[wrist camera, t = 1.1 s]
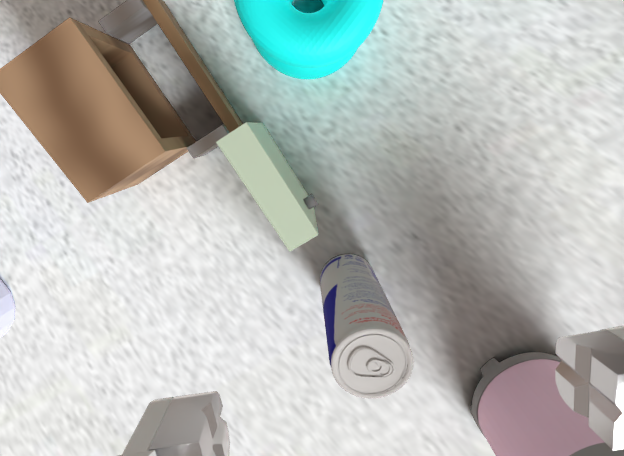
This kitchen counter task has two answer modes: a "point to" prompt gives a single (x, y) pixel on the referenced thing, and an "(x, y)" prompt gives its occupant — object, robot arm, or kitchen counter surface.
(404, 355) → the beverage can
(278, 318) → the kitchen counter surface
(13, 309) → the soap bottle
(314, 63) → the donuts
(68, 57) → the cabinet
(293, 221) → the pale green flat block
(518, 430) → the blender
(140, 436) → the robot arm
